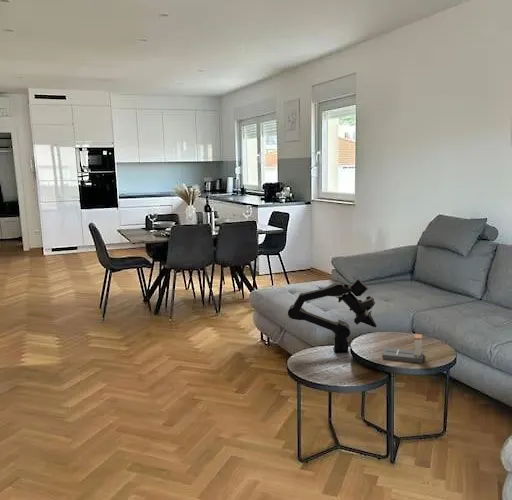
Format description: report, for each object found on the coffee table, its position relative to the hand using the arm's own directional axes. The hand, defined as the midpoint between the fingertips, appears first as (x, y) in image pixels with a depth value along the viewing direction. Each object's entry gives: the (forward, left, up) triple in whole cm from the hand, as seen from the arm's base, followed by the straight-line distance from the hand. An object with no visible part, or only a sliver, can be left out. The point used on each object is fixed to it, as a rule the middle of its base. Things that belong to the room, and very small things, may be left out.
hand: (375, 326), depth 239 cm
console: (+12, -6, -14) cm, 19 cm away
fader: (+18, -8, -11) cm, 22 cm away
